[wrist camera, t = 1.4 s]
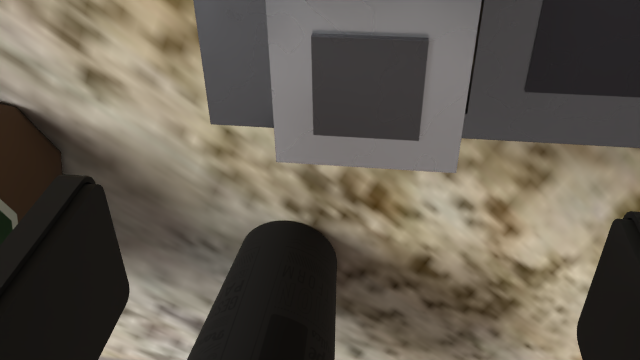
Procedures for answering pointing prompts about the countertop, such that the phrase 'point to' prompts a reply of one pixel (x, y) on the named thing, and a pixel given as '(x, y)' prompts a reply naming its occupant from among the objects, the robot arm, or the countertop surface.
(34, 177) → the beer bottle
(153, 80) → the countertop surface
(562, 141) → the grey slotted block
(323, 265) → the drinking cup
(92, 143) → the countertop surface
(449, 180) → the countertop surface
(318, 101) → the block
